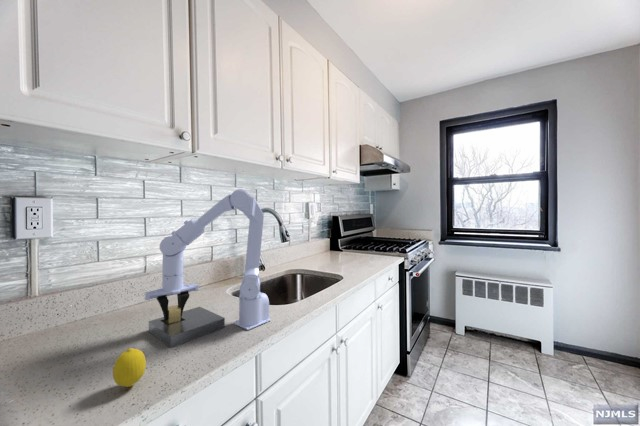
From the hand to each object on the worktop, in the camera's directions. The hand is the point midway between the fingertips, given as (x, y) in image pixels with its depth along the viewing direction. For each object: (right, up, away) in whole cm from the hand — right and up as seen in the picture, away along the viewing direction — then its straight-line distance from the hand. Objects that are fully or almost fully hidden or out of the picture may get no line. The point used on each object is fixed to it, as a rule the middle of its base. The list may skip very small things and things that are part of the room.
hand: (172, 317), depth 80 cm
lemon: (+6, -4, -26) cm, 27 cm away
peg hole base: (+4, -4, +1) cm, 6 cm away
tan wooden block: (0, -4, 0) cm, 4 cm away
